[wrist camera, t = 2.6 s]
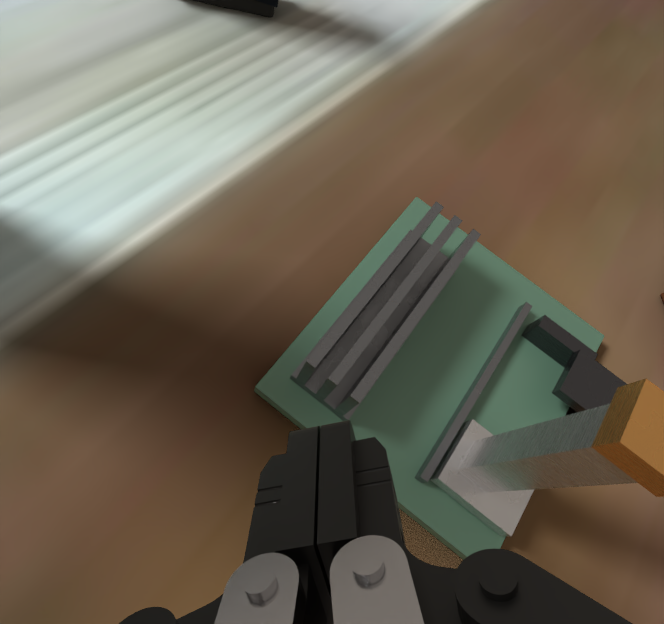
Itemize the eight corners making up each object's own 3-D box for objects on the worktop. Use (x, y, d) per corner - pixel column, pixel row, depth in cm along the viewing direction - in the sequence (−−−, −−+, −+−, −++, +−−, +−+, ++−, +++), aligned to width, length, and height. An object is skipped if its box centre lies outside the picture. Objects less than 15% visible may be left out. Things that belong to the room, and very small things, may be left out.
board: (477, 570, 34) (487, 573, 32) (254, 391, 35) (255, 386, 34) (592, 341, 43) (604, 335, 41) (410, 206, 44) (416, 196, 43)
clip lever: (499, 535, 33) (738, 559, 18) (429, 479, 34) (602, 454, 18) (529, 474, 35) (768, 447, 20) (463, 422, 36) (645, 356, 20)
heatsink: (513, 563, 34) (577, 575, 28) (287, 383, 36) (300, 356, 30) (598, 381, 41) (666, 358, 35) (406, 237, 43) (438, 189, 37)
